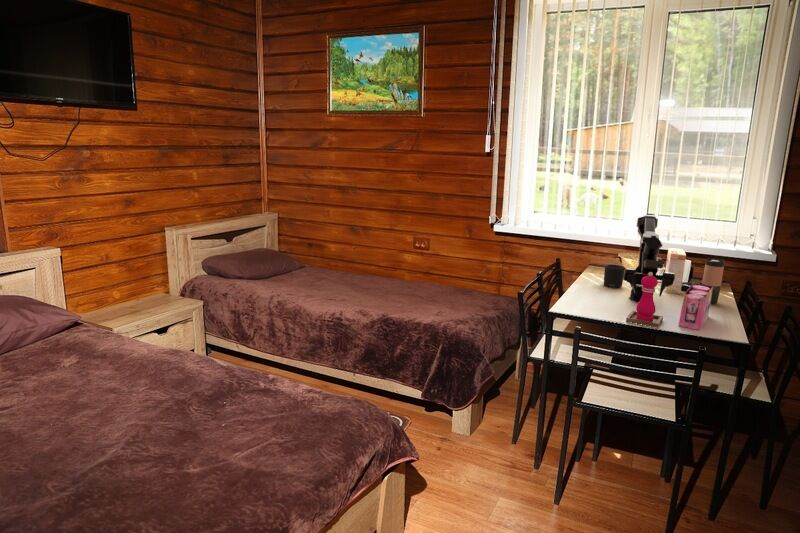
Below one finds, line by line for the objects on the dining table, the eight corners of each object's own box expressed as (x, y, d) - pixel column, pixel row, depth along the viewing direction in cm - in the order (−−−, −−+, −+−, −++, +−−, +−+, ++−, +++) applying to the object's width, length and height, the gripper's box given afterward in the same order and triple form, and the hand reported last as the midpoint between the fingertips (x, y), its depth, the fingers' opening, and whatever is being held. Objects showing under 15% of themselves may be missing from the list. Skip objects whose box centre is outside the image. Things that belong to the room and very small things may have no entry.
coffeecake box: (662, 284, 286) (668, 247, 281) (678, 286, 283) (683, 249, 279) (664, 292, 272) (670, 253, 268) (680, 294, 270) (686, 254, 265)
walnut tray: (631, 314, 235) (632, 310, 235) (662, 320, 229) (663, 316, 229) (625, 322, 225) (626, 317, 225) (657, 328, 219) (658, 324, 219)
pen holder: (598, 284, 283) (600, 265, 280) (612, 282, 287) (614, 263, 284) (612, 289, 275) (615, 269, 272) (626, 287, 278) (629, 268, 276)
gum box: (699, 331, 217) (704, 298, 214) (677, 327, 222) (682, 294, 219) (708, 316, 236) (713, 285, 233) (688, 313, 241) (692, 282, 237)
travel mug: (717, 301, 259) (724, 259, 255) (718, 305, 253) (726, 262, 248) (698, 298, 263) (705, 257, 258) (699, 303, 256) (706, 260, 251)
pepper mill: (657, 322, 224) (664, 274, 220) (641, 322, 223) (647, 274, 219) (647, 316, 231) (653, 269, 227) (631, 317, 230) (637, 270, 226)
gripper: (627, 249, 229) (625, 281, 221) (677, 253, 223) (677, 287, 215) (624, 263, 238) (622, 295, 230) (672, 268, 232) (671, 301, 225)
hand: (647, 294), depth 225 cm, fingers open, 9 cm apart
